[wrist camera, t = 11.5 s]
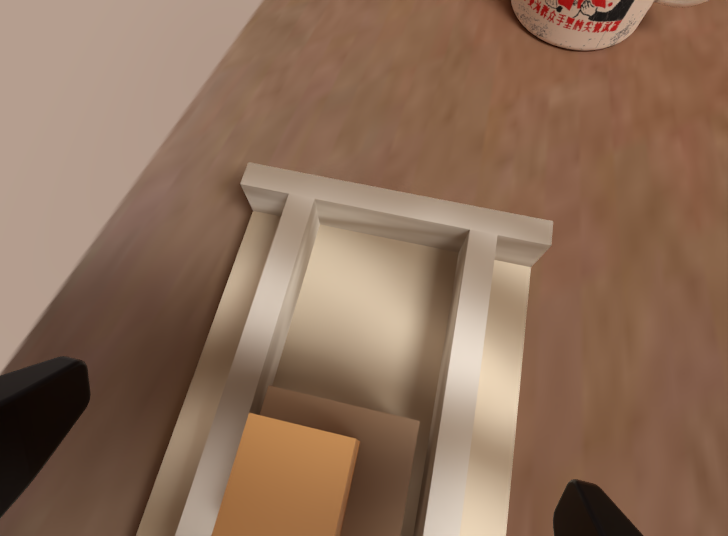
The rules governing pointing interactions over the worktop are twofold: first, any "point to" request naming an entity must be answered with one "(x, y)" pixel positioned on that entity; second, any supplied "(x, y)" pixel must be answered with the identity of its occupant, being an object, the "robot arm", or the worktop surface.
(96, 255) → the worktop surface
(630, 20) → the teacup with lid
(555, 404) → the worktop surface
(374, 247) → the lane tray
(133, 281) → the worktop surface
